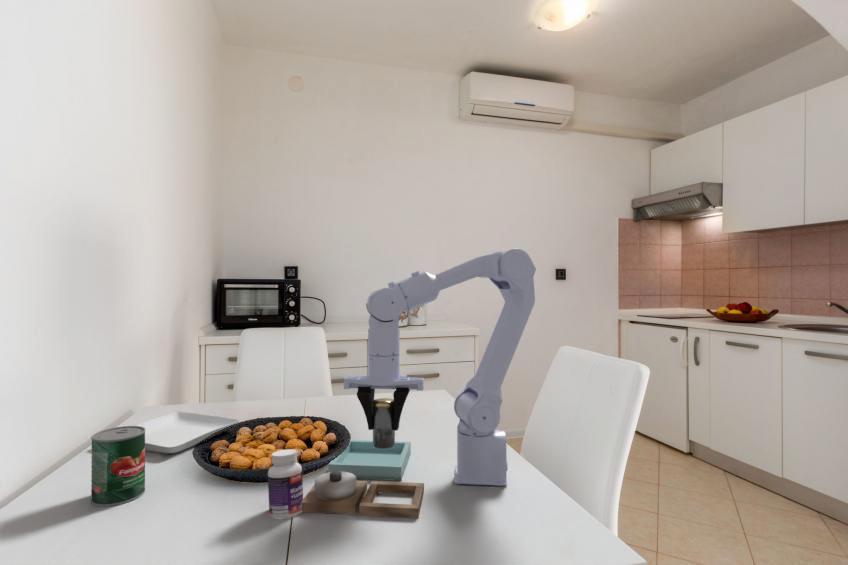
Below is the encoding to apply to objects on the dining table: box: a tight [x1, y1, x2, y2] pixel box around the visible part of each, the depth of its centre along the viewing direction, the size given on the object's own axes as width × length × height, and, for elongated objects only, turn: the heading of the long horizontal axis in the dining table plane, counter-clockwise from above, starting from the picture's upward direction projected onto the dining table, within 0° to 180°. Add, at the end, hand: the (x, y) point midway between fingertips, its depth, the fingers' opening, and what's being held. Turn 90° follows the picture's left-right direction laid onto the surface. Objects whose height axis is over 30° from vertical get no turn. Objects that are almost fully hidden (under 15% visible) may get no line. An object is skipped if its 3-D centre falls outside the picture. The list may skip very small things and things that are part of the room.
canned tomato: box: [90, 425, 146, 508], centre depth 81 cm, size 8×8×11 cm
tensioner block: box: [302, 471, 425, 519], centre depth 79 cm, size 19×9×4 cm, turn 85°
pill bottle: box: [267, 448, 304, 520], centre depth 76 cm, size 5×5×10 cm
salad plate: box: [133, 411, 240, 454], centre depth 111 cm, size 21×21×3 cm
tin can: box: [372, 397, 396, 449], centre depth 85 cm, size 4×4×8 cm
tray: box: [328, 439, 412, 481], centre depth 95 cm, size 14×14×2 cm
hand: (383, 428), depth 85 cm, fingers closed on tin can, 4 cm apart
